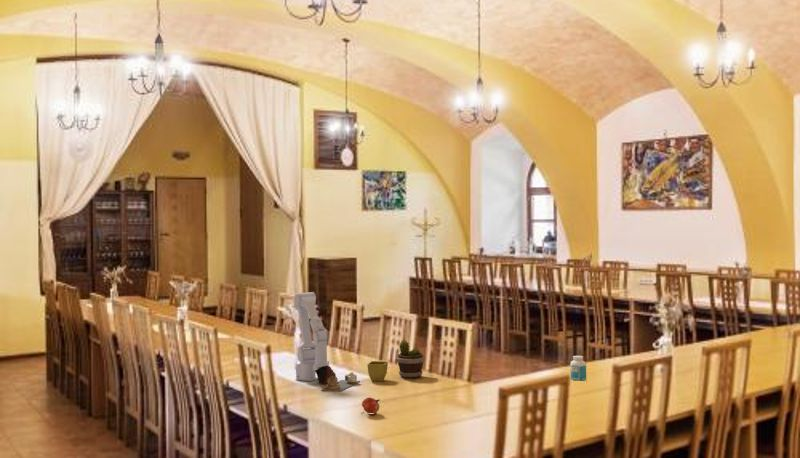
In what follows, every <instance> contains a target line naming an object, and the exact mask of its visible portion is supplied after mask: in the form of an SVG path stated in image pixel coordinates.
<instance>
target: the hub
mask: <svg viewBox="0 0 800 458" xmlns="http://www.w3.org/2000/svg"><path fill="white" fill-rule="evenodd" d="M349 374H350V376H353V374H354V372H353V371H350V372H349ZM356 381H357V380H354V381H347V383H349V384H353V383H356Z"/></svg>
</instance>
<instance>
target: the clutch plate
mask: <svg viewBox="0 0 800 458" xmlns="http://www.w3.org/2000/svg"><path fill="white" fill-rule="evenodd" d="M344 380H347V381H354V380H356V381H358V375H357V374H355V373H353V376H350V373H349V374H348V373H347V374H345V375H344Z"/></svg>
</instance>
